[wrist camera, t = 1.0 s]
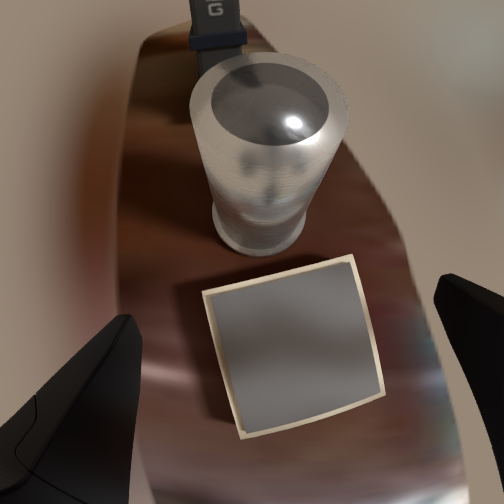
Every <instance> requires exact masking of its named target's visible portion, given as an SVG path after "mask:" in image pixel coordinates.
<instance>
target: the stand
mask: <svg viewBox="0 0 504 504" xmlns="http://www.w3.org/2000/svg"><path fill="white" fill-rule="evenodd" d="M202 295H203V299H204V304H205V308H206V312H207V317H208V321H209V325H210V329H211V333H212V337H213V342H214V346H215V349H216V353H217V357H218V361H219V365H220V369H221V373H222V376H223V380H224V384H225V387H226V391H227V395H228V398H229V402H230V405H231V409H232V412H233V416H234V419H235V422H236V426H237V429H238V432H239V436H240V439H246V438H251V437H256V436H260V435H265V434H269V433H273V432H277V431H281V430H285V429H289V428H293V427H296V426H300V425H303V424H307V423H310V422H313V421H317V420H320V419H323V418H326V417H329V416H332V415H335V414H338V413H341V412H344V411H346V410H349V409H352V408H354V407H357V406H360V405H362V404H365V403H367V402H370V401H372V400H375V399H377V398H380V397H382V396H384V395H386V393H385V387H384V381H383V376H382V371H381V366H380V361H379V356H378V351H377V347H376V342H375V337H374V333H373V329H372V325H371V320H370V316H369V312H368V308H367V304H366V300H365V297H364V293H363V289H362V285H361V282H360V278H359V275H358V271H357V268H356V264H355V261H354V257H353V254H350V255H346V256H342V257H338V258H335V259H331V260H327V261H323V262H319V263H315V264H312V265H308V266H304V267H300V268H296V269H292V270H288V271H284V272H280V273H276V274H272V275H268V276H264V277H260V278H256V279H251V280H247V281H243V282H239V283H235V284H230V285H226V286H222V287H218V288H213V289H209V290H205V291H202Z"/></svg>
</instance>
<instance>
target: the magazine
mask: <svg viewBox="0 0 504 504" xmlns="http://www.w3.org/2000/svg"><path fill="white" fill-rule="evenodd" d="M189 3H190V11H191V18H192V26H191V30H190V35H189V46H190V50H191V51H194V50H196V53H197V60H198V66H199V79H200V78H201V77H202V76H203V75H204V74H205V73H206V72H207V71H208V70H209V69H211V68H212V67H214V66H215V65H217V64H218V63H220V62H222V61H224V60H226V59H229V58H232V57H235V56H238V55H242V46H241V45H245V44H247V32H246V30H245V28H244V26H243V25H242V23H241V22H240V9H239V0H189Z"/></svg>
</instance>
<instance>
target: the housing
mask: <svg viewBox="0 0 504 504" xmlns="http://www.w3.org/2000/svg"><path fill="white" fill-rule="evenodd" d="M189 107H190V115H191V119H192V123H193V127H194V131H195V135H196V138H197V142H198V146H199V150H200V153H201V157H202V161H203V164H204V168H205V172H206V176H207V179H208V183H209V186H210V190H211V194H212V197H213V207H212V216H213V221H214V225H215V228H216V230H217V233H218V235H219V236H220V238H221V239H222V241H223V242H224V243H225V244H226V245H227V246H228V247H229V248H231V249H232V250H234V251H235V252H237V253H239V254H241V255H244V256H248V257H253V258H266V257H271V256H274V255H277V254H279V253H281V252H283V251H285V250H286V249H288V248H289V247H290V246H291V245H292V244H293V243H294V242H295V241H296V239H297V238H298V236H299V235H300V233H301V231H302V229H303V226H304V223H305V218H306V209H307V207H308V206H309V204H310V202H311V200H312V198H313V196H314V194H315V192H316V190H317V188H318V186H319V184H320V182H321V180H322V178H323V176H324V174H325V172H326V170H327V168H328V166H329V164H330V162H331V160H332V158H333V156H334V154H335V152H336V150H337V148H338V146H339V144H340V142H341V140H342V138H343V136H344V134H345V132H346V130H347V127H348V123H349V107H348V103H347V100H346V97H345V95H344V93H343V91H342V90H341V88H340V87H339V85H338V84H337V83H336V82H335V81H334V79H333V78H332V77H331V76H329V75H328V74H327V73H326V72H324V71H323V70H322V69H321V68H319V67H317V66H316V65H314V64H312V63H310V62H307V61H306V60H303V59H301V58H298V57H295V56H291V55H287V54H282V53H274V52H255V53H247V54H242V55H238V56H235V57H232V58H229V59H226V60H224V61H222V62H220V63H218V64H217V65H215V66H214V67H212V68H211V69H209V70H208V71H207V72H206V73H205V74H204V75H203V76H202V77H201V78H200V79H199V81H198V82H197V84H196V85H195V87H194V89H193V91H192V94H191V98H190V106H189Z"/></svg>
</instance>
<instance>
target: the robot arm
mask: <svg viewBox="0 0 504 504" xmlns="http://www.w3.org/2000/svg"><path fill="white" fill-rule="evenodd" d="M434 304H435V307H436V309H437V311H438V314H439V316H440V318H441V321H442V324H443V326H444V329H445V331H446V334H447V336H448V339H449V341H450V344H451V346H452V348H453V350H454V352H455V354H456V356H457V358H458V360H459V363H460V365H461V367H462V369H463V372H464V374H465V376H466V378H467V381H468V383H469V385H470V388H471V390H472V393H473V395H474V398H475V400H476V403H477V405H478V408H479V410H480V413H481V416H482V419H483V421H484V424H485V427H486V430H487V433H488V436H489V439H490V442H491V445H492V449H493V453H494V456H495V460H496V463H497V467H498V471H499V475H500V479H501V483H502V488H503V492H504V297H503V296H501V295H499V294H497V293H494V292H492V291H490V290H488V289H486V288H484V287H482V286H479V285H477V284H475V283H473V282H471V281H468V280H466V279H464V278H462V277H459V276H457V275H454V274H451V273H450V274H445V275H442V276H441V277H440V278H439V282H438V284H437V288H436V291H435V294H434ZM141 360H142V336H141V334H140V331H139V329H138V327H137V324H136V322H135V319H134V317H133V316H132V315H130V314H124V315H117V316H116V317H115V318H114V319H113V320H111V321H110V322H109V323H108V324H107V325H106V326H105V327H104V328H103V329H102V330H101V331H100V332H99V333H98V334H96V335H95V336H94V337H93V338H92V339H91V340H90V341H89V342H88V343H87V344H86V345H85V346H84V347H82V348H81V349H80V350H79V351H78V352H77V353H76V354H75V355H74V356H73V357H72V358H71V359H70V360H69V361H68V362H67V363H66V364H65V365H64V366H63V367H62V368H61V369H60V370H59V371H58V372H57V373H56V374H54V376H52V377H51V378H50V379H49V380H48V381H47V382H46V383H45V384H44V385H43V386H42V387H41V388H40V390H39V391H37V392H36V395H33V396H32V397H31V399H29V400H28V401H27V403H26V404H24V405H23V406H22V407H21V408H20V410H18V411H17V412H16V413H15V414H14V415H13V416H12V417H11V418H10V419H9V420H8V421H7V422H6V423H5V424H3V425H2V426H1V427H0V504H128V501H129V483H130V471H131V459H132V449H133V440H134V432H135V424H136V416H137V409H138V402H139V394H140V380H141Z"/></svg>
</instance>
